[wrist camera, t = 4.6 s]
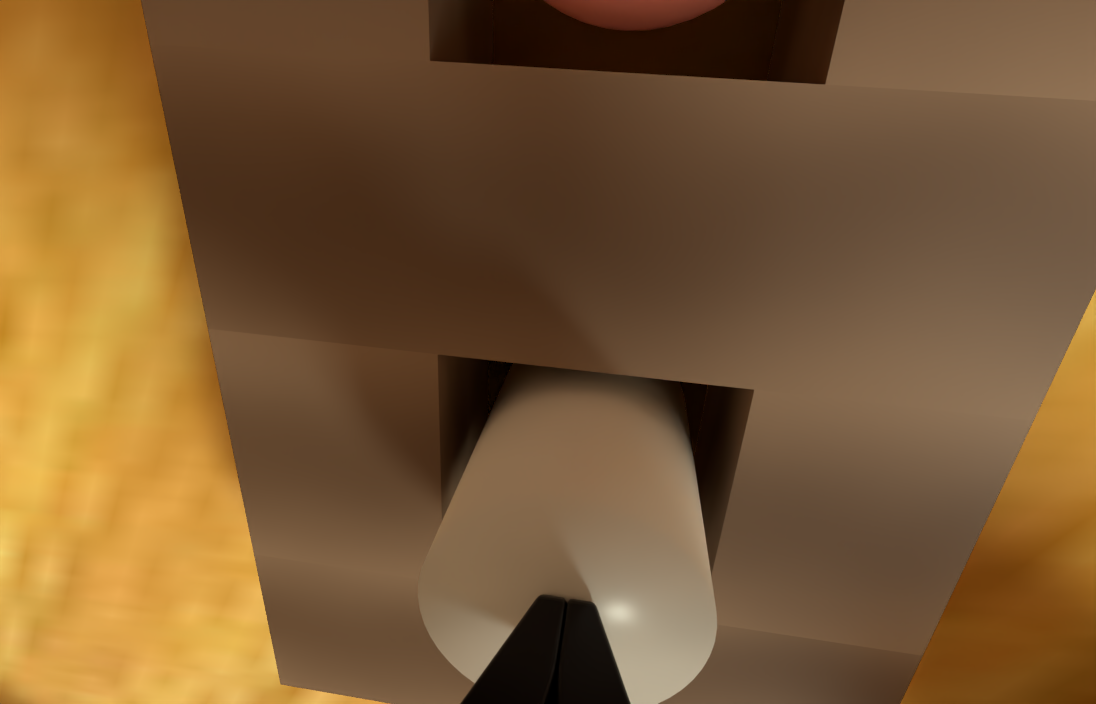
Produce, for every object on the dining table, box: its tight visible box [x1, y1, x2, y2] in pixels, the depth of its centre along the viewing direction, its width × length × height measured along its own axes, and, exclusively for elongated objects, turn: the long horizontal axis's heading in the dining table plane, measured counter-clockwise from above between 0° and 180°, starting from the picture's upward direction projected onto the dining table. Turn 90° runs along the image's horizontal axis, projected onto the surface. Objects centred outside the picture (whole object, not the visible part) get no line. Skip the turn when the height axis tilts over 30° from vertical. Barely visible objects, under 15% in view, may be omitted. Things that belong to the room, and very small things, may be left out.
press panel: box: [141, 0, 1096, 704], centre depth 11 cm, size 24×14×4 cm, turn 177°
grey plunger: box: [418, 363, 717, 704], centre depth 11 cm, size 4×4×6 cm
